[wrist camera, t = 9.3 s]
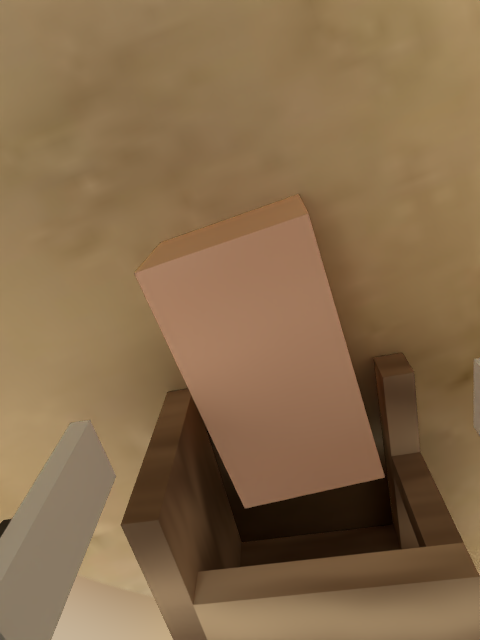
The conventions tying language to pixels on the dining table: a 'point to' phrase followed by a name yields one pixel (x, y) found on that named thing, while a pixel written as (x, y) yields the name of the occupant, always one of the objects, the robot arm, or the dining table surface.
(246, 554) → the dock
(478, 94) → the dining table surface
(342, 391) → the pink rectangular block
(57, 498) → the robot arm
